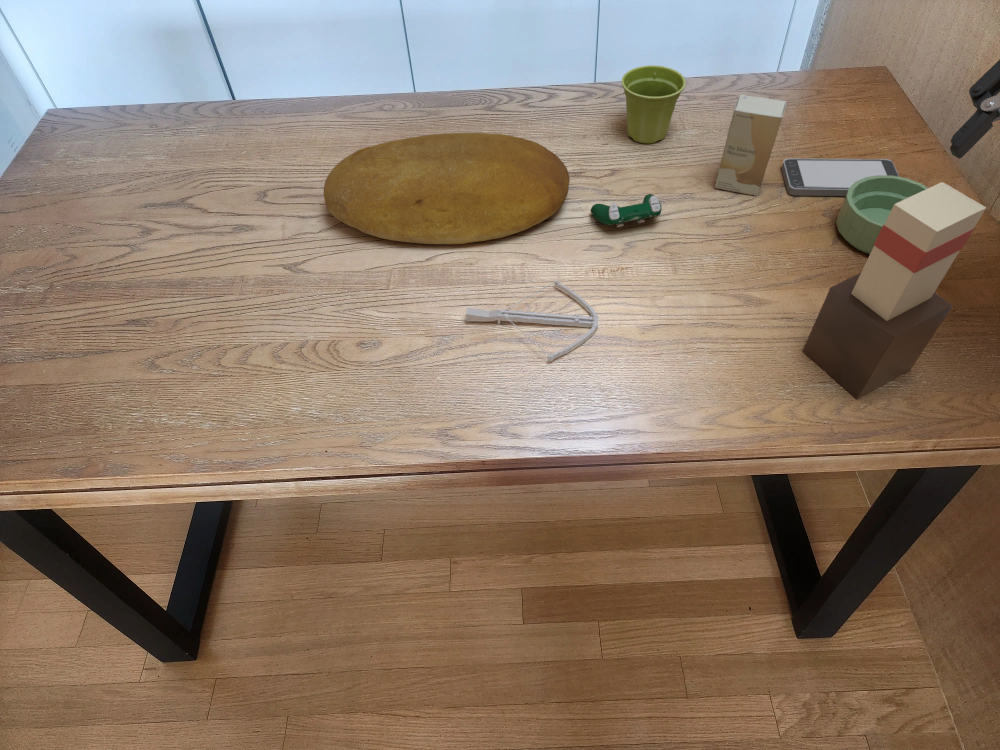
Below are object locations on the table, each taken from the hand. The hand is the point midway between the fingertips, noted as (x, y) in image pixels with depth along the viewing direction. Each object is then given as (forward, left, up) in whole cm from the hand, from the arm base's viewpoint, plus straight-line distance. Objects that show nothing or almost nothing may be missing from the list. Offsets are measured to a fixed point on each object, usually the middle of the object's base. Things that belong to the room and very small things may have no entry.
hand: (995, 176), depth 59 cm
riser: (0, +7, -21) cm, 22 cm away
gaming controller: (+34, +14, -22) cm, 43 cm away
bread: (+50, +34, -22) cm, 64 cm away
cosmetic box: (+32, -4, -22) cm, 39 cm away
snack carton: (0, +7, -11) cm, 13 cm away
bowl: (+14, -12, -21) cm, 28 cm away
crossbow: (+24, +35, -22) cm, 47 cm away
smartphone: (+25, -16, -21) cm, 37 cm away
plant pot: (+50, -1, -22) cm, 55 cm away
